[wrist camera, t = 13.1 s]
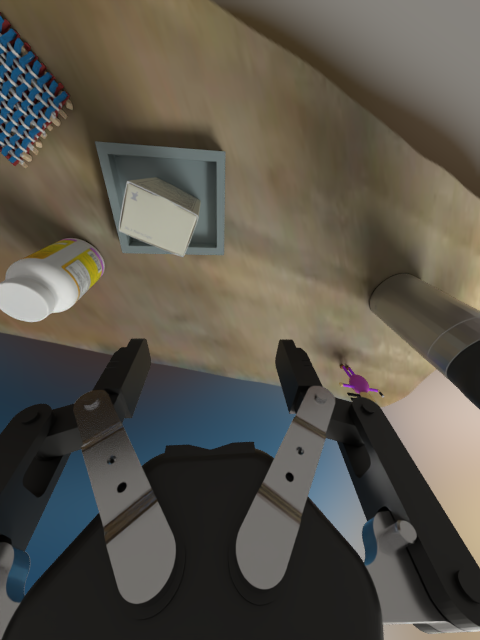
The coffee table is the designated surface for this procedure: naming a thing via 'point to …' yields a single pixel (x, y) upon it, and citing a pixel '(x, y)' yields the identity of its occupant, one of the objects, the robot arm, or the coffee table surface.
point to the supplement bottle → (50, 279)
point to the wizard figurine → (358, 385)
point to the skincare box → (159, 214)
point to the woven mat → (25, 98)
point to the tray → (178, 170)
